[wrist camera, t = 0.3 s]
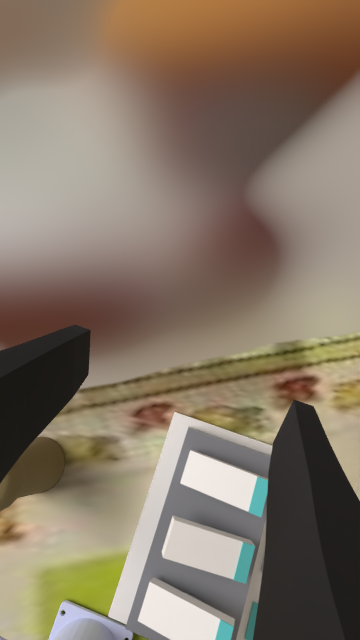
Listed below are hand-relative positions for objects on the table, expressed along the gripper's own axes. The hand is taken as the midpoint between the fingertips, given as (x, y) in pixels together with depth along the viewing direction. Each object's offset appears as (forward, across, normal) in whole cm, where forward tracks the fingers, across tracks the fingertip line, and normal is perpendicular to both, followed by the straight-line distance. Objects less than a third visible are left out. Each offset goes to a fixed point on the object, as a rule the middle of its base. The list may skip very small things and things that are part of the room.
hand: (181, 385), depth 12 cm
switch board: (+13, -6, +30) cm, 33 cm away
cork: (+12, +16, +29) cm, 35 cm away
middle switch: (+10, -4, +26) cm, 28 cm away
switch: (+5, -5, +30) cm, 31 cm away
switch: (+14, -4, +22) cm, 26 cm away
